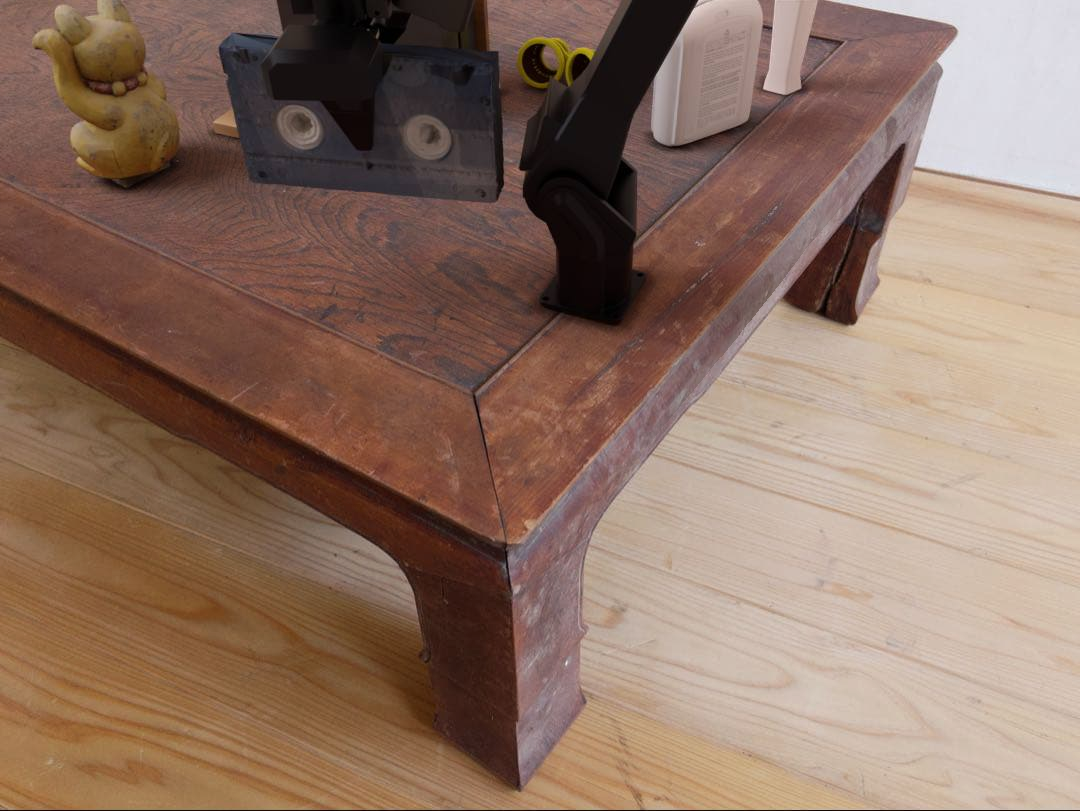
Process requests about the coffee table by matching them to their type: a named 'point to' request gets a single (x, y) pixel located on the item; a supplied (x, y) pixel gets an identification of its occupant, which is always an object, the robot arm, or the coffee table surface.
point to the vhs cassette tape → (378, 126)
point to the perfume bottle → (789, 44)
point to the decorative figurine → (110, 93)
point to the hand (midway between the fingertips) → (369, 139)
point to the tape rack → (414, 35)
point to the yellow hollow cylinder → (540, 72)
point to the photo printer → (708, 72)
